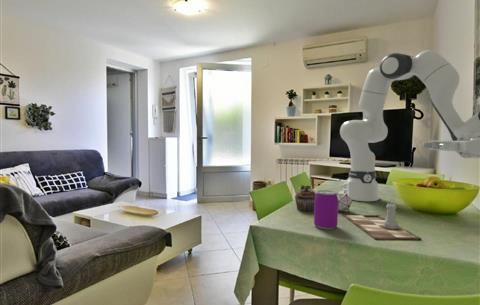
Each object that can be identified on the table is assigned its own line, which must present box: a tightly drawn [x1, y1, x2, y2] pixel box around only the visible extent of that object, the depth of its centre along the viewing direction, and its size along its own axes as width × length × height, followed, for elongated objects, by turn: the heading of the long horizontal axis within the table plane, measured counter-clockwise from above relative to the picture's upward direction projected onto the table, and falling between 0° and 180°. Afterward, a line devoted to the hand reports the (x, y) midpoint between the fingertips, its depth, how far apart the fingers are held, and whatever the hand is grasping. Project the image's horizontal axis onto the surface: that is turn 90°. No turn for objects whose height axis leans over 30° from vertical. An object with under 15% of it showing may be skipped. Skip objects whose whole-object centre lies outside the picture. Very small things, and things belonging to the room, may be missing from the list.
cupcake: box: [294, 185, 317, 213], centre depth 123 cm, size 10×10×10 cm
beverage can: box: [313, 189, 339, 231], centre depth 99 cm, size 8×8×12 cm
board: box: [342, 214, 422, 241], centre depth 101 cm, size 26×14×1 cm, turn 1°
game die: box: [336, 192, 356, 213], centre depth 120 cm, size 9×8×10 cm
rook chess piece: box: [383, 202, 399, 229], centre depth 98 cm, size 4×4×8 cm
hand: (432, 145), depth 104 cm, fingers open, 8 cm apart
